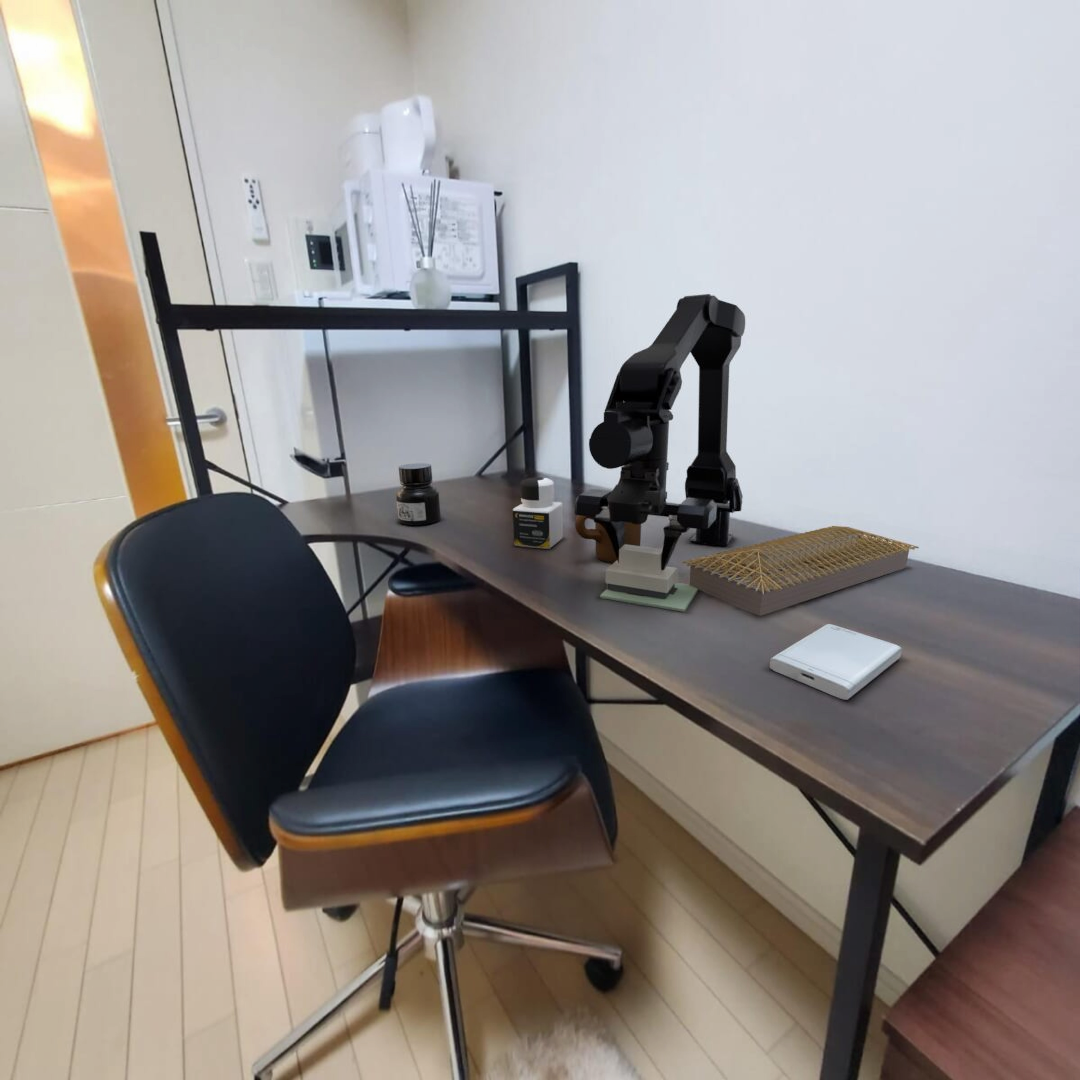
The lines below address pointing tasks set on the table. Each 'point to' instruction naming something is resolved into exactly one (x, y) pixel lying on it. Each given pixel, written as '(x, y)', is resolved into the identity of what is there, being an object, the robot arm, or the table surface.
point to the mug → (607, 537)
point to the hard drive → (836, 660)
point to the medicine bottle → (537, 515)
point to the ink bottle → (417, 495)
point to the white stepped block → (641, 572)
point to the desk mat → (674, 601)
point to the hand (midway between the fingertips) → (641, 566)
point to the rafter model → (823, 547)
